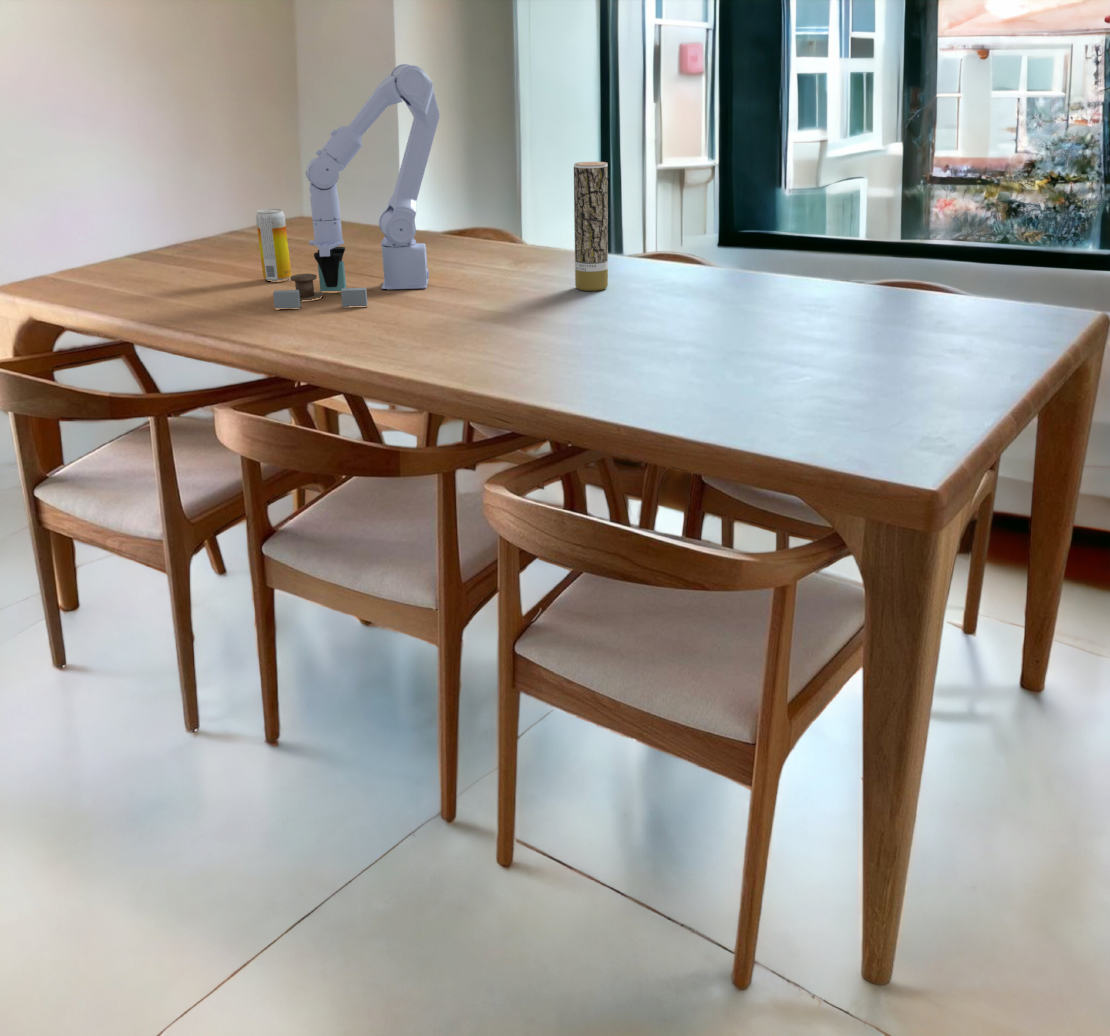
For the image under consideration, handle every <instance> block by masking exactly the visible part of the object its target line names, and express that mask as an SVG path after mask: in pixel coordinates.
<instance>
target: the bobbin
mask: <svg viewBox="0 0 1110 1036" xmlns="http://www.w3.org/2000/svg"><path fill="white" fill-rule="evenodd" d="M289 279H290V281H292V282H294V286H295V290H299V294H300V301H302V300H312V299H316V298H320V297H321V296H323V297H324V295H323V294H322V293H321V292H316V291H315V289H314V288H315V287H314V286H315V285H314V280H316V279H317V274H315V273H314V274H313V273H298V274H293V275H291V277H290V278H289Z"/></svg>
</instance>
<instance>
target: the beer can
mask: <svg viewBox="0 0 1110 1036" xmlns="http://www.w3.org/2000/svg"><path fill="white" fill-rule="evenodd" d="M255 221H256V228H257V237H258V246H259V253H260V261H261V269H262V277H263V279H264V280H265V279H266V280H272V281H277V280H283V279H288V278H289V279H291V278H290V277H291V276H292V269H291V259H290V252H289V251H290V250H289V242H288V240H289V239H288V234H287V233H288V232H287V225H286V215H285V213H284V211H283V209H281V208H264V209H258V210H257V211H256V215H255ZM266 280H265V281H266Z"/></svg>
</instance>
